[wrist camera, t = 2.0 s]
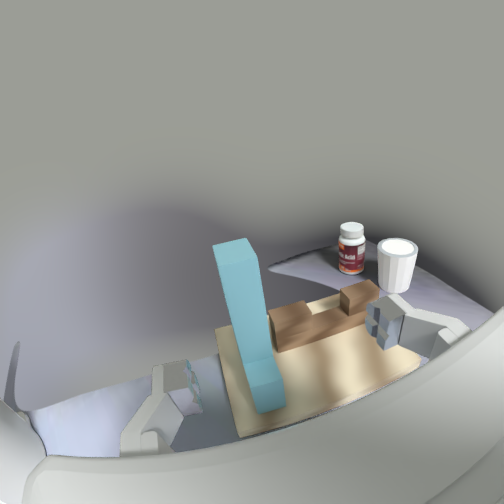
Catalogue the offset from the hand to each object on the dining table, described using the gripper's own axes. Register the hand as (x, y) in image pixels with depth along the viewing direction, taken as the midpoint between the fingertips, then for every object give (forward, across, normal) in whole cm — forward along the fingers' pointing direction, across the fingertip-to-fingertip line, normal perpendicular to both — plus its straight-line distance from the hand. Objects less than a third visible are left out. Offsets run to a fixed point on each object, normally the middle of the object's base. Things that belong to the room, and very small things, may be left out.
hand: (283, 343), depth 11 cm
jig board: (+14, -6, +19) cm, 24 cm away
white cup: (+22, -25, +19) cm, 39 cm away
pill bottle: (+30, -22, +19) cm, 42 cm away
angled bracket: (+12, 0, +17) cm, 21 cm away
